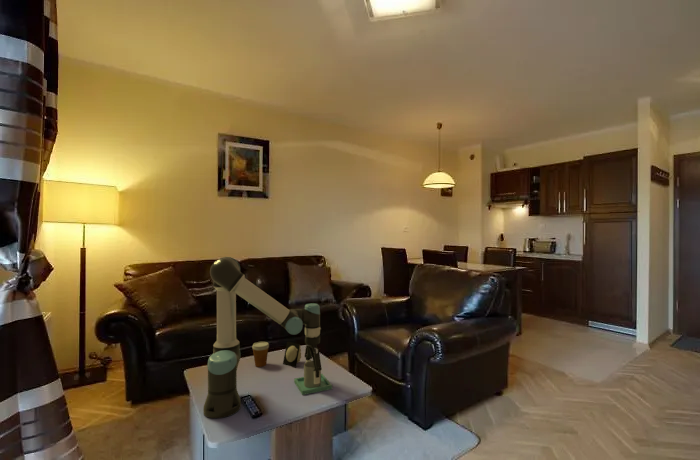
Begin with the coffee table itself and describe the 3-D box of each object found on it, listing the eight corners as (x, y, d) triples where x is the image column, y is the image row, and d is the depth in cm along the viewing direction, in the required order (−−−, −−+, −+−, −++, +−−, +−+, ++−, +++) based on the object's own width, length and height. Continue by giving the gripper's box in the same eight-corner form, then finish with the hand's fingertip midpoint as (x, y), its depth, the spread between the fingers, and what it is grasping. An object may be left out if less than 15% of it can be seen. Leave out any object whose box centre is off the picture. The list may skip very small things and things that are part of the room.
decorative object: (291, 363, 201) (304, 367, 196) (279, 364, 193) (292, 368, 188) (295, 341, 205) (307, 344, 199) (283, 341, 196) (296, 344, 191)
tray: (302, 395, 158) (302, 391, 158) (294, 382, 172) (294, 378, 172) (332, 388, 164) (332, 385, 164) (322, 376, 178) (322, 373, 178)
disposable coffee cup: (251, 362, 197) (251, 342, 197) (268, 361, 200) (268, 340, 200) (252, 369, 188) (252, 347, 188) (269, 367, 191) (269, 345, 191)
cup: (317, 388, 163) (317, 368, 163) (301, 387, 164) (301, 366, 165) (322, 381, 171) (322, 361, 171) (307, 379, 173) (307, 360, 173)
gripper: (328, 341, 158) (328, 386, 158) (312, 327, 181) (312, 367, 181) (312, 343, 155) (313, 389, 155) (298, 329, 178) (298, 369, 178)
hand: (312, 378), depth 168 cm, fingers open, 13 cm apart
